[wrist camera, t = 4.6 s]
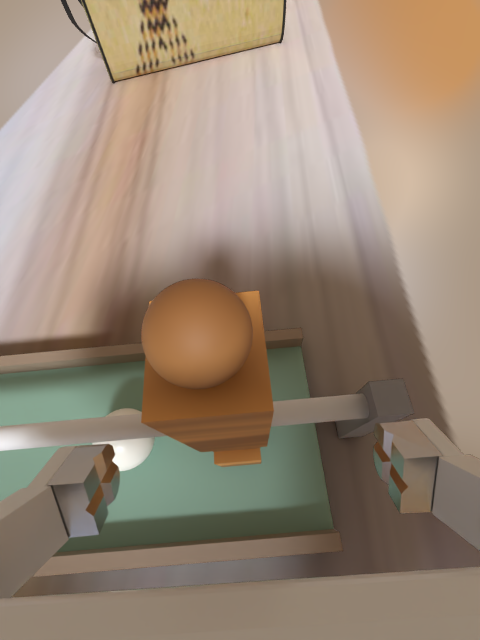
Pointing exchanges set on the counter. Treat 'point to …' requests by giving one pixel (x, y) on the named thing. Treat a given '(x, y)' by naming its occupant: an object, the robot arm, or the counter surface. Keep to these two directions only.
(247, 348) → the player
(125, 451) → the ball
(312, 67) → the counter surface
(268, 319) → the counter surface
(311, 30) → the counter surface
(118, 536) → the pitch
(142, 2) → the clutch purse
